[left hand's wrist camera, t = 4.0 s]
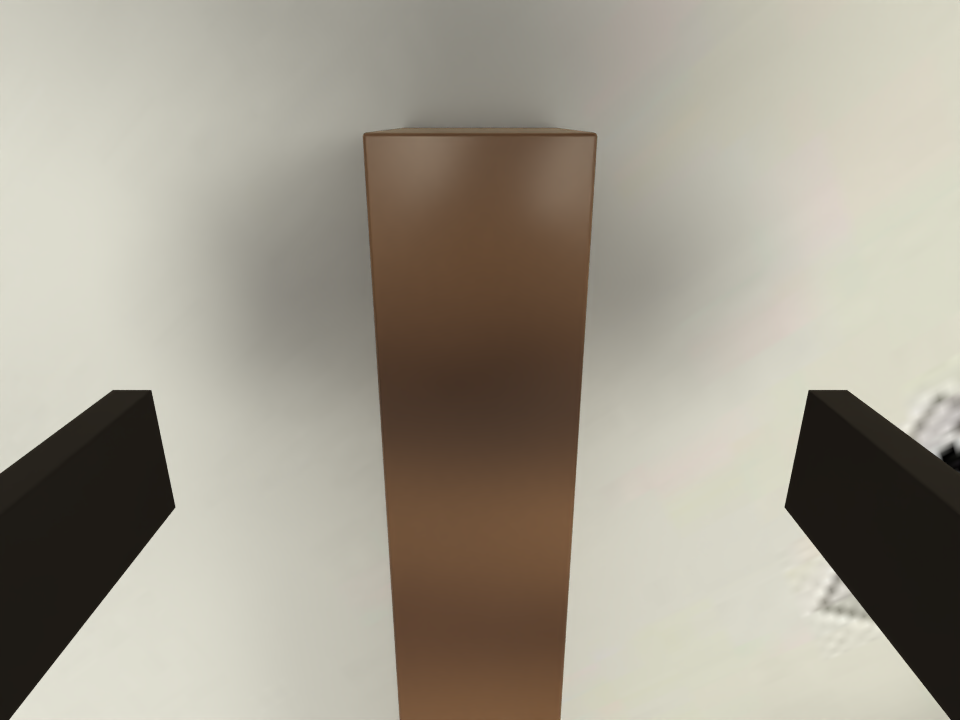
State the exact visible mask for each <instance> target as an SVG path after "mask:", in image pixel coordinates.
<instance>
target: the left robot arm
mask: <svg viewBox="0 0 960 720" xmlns="http://www.w3.org/2000/svg"><path fill="white" fill-rule="evenodd" d="M174 508H175V503H174V498H173V493H172V488H171V484H170V479H169V474H168V469H167V464H166V459H165V454H164V449H163V445H162V440H161V435H160V430H159V425H158V420H157V415H156V411H155V406H154V401H153V396H152V391H151V390H112V391H111V392H110V393H108V394H107V395H106V396H104V397H103V398H102V399H100V400H99V401H98V402H96V403H95V404H94V405H92V406H91V407H89V408H88V409H87V410H85V411H84V412H83V413H81V414H80V415H79V416H77V417H76V418H75V419H73V420H72V421H71V422H69V423H68V424H67V425H65V426H64V427H62V428H61V429H60V430H58V431H57V432H56V433H54V434H53V435H52V436H50V437H49V438H48V439H46V440H45V441H44V442H42V443H41V444H40V445H38V446H37V447H35V448H34V449H33V450H31V451H30V452H29V453H27V454H26V455H25V456H23V457H22V458H21V459H19V460H18V461H17V462H15V463H14V464H13V465H11V466H10V467H8V468H7V469H6V470H4V471H3V472H2V473H0V720H9V719H10V718H11V717H12V715H13V714H14V713H15V712H16V710H17V709H18V708H19V706H20V705H21V704H22V703H23V701H24V700H25V699H26V698H27V696H28V695H29V694H30V692H31V691H32V690H33V689H34V687H35V686H36V685H37V683H38V682H39V681H40V680H41V678H42V677H43V676H44V675H45V673H46V672H47V671H48V669H49V668H50V667H51V666H52V664H53V663H54V662H55V660H56V659H57V658H58V657H59V655H60V654H61V653H62V652H63V650H64V649H65V648H66V646H67V645H68V644H69V643H70V641H71V640H72V639H73V637H74V636H75V635H76V634H77V632H78V631H79V630H80V629H81V627H82V626H83V625H84V623H85V622H86V621H87V620H88V618H89V617H90V616H91V615H92V613H93V612H94V611H95V609H96V608H97V607H98V606H99V604H100V603H101V602H102V600H103V599H104V598H105V597H106V595H107V594H108V593H109V592H110V590H111V589H112V588H113V586H114V585H115V584H116V583H117V581H118V580H119V579H120V577H121V576H122V575H123V574H124V572H125V571H126V570H127V569H128V567H129V566H130V565H131V563H132V562H133V561H134V560H135V558H136V557H137V556H138V554H139V553H140V552H141V551H142V549H143V548H144V547H145V546H146V544H147V543H148V542H149V540H150V539H151V538H152V537H153V535H154V534H155V533H156V531H157V530H158V529H159V528H160V526H161V525H162V524H163V523H164V521H165V520H166V519H167V517H168V516H169V515H170V514H171V512H172V511H173V510H174ZM785 508H786V510H787V511H788V512H789V514H790V515H791V516H792V517H793V519H794V520H795V521H796V523H797V524H798V525H799V526H800V528H801V529H802V530H803V531H804V533H805V534H806V535H807V537H808V538H809V539H810V540H811V542H812V543H813V544H814V546H815V547H816V548H817V549H818V551H819V552H820V553H821V554H822V556H823V557H824V558H825V560H826V561H827V562H828V563H829V565H830V566H831V567H832V569H833V570H834V571H835V572H836V574H837V575H838V576H839V577H840V579H841V580H842V581H843V583H844V584H845V585H846V586H847V588H848V589H849V590H850V592H851V593H852V594H853V595H854V597H855V598H856V599H857V600H858V602H859V603H860V604H861V606H862V607H863V608H864V609H865V611H866V612H867V613H868V615H869V616H870V617H871V618H872V620H873V621H874V622H875V623H876V625H877V626H878V627H879V629H880V630H881V631H882V632H883V634H884V635H885V636H886V637H887V639H888V640H889V641H890V643H891V644H892V645H893V646H894V648H895V649H896V650H897V652H898V653H899V654H900V655H901V657H902V658H903V659H904V660H905V662H906V663H907V664H908V666H909V667H910V668H911V669H912V671H913V672H914V673H915V675H916V676H917V677H918V678H919V680H920V681H921V682H922V683H923V685H924V686H925V687H926V689H927V690H928V691H929V692H930V694H931V695H932V696H933V698H934V699H935V700H936V701H937V703H938V704H939V705H940V706H941V708H942V709H943V710H944V712H945V713H946V714H947V715H948V717H949V718H950V719H951V720H960V473H958V472H957V471H956V470H954V469H953V468H952V467H950V466H949V465H947V464H946V463H945V462H943V461H942V460H941V459H939V458H938V457H937V456H935V455H934V454H933V453H931V452H930V451H929V450H927V449H926V448H925V447H923V446H922V445H920V444H919V443H918V442H916V441H915V440H914V439H912V438H911V437H910V436H908V435H907V434H906V433H904V432H903V431H902V430H900V429H899V428H898V427H896V426H895V425H893V424H892V423H891V422H889V421H888V420H887V419H885V418H884V417H883V416H881V415H880V414H879V413H877V412H876V411H875V410H873V409H872V408H871V407H869V406H868V405H866V404H865V403H864V402H862V401H861V400H860V399H858V398H857V397H856V396H854V395H853V394H852V393H850V392H849V391H848V390H809V391H808V396H807V401H806V406H805V411H804V415H803V420H802V425H801V430H800V435H799V440H798V445H797V449H796V454H795V459H794V464H793V469H792V474H791V479H790V484H789V488H788V493H787V498H786V503H785Z"/></svg>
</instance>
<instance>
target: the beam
mask: <svg viewBox="0 0 960 720" xmlns="http://www.w3.org/2000/svg"><path fill="white" fill-rule="evenodd" d="M363 148H364V164H365V179H366V195H367V211H368V227H369V243H370V258H371V274H372V290H373V306H374V322H375V337H376V353H377V369H378V385H379V401H380V416H381V432H382V448H383V464H384V480H385V495H386V511H387V527H388V543H389V559H390V574H391V590H392V606H393V622H394V638H395V653H396V669H397V685H398V701H399V717H400V720H560V717H561V702H562V686H563V670H564V654H565V638H566V623H567V607H568V591H569V575H570V559H571V544H572V528H573V512H574V496H575V480H576V465H577V449H578V433H579V417H580V401H581V386H582V370H583V354H584V338H585V322H586V307H587V291H588V275H589V259H590V243H591V228H592V212H593V196H594V180H595V164H596V148H597V134H596V133H593V132H585V131H577V130H569V129H561V128H399V129H391V130H383V131H375V132H368V133H364V134H363Z"/></svg>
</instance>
